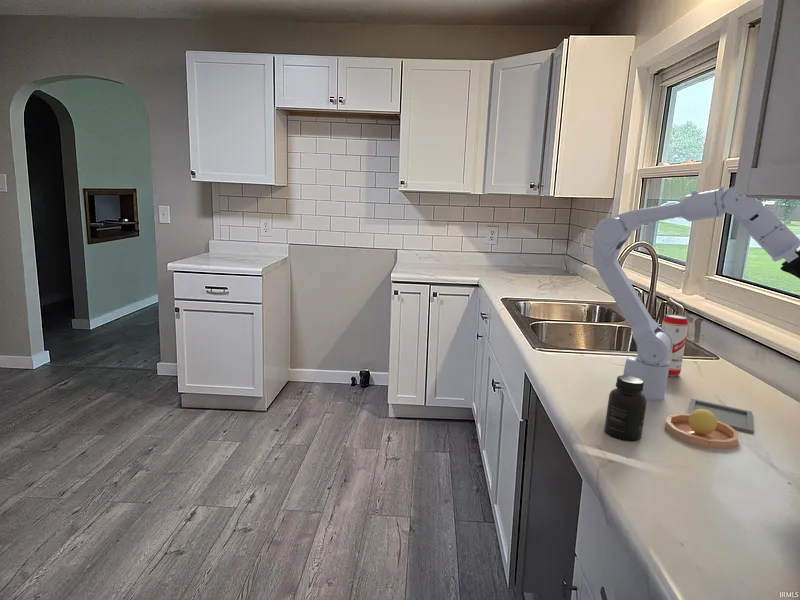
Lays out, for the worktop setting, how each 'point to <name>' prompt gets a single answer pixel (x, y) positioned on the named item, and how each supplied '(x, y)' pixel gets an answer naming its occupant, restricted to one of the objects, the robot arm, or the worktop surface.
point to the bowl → (717, 439)
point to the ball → (702, 421)
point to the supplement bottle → (626, 409)
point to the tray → (726, 414)
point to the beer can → (675, 340)
